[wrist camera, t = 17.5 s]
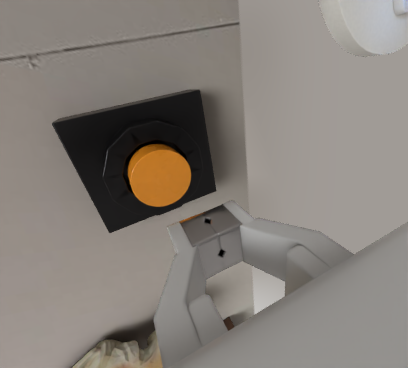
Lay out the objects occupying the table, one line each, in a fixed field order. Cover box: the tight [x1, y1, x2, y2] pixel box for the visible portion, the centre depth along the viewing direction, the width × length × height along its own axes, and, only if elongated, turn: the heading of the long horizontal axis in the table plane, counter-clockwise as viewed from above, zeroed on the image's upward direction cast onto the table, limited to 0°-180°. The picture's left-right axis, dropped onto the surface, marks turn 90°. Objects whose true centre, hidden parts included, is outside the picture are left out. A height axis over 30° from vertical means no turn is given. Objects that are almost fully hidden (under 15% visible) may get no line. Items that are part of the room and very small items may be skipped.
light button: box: [128, 144, 191, 207], centre depth 14 cm, size 4×4×2 cm
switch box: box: [52, 90, 216, 233], centre depth 16 cm, size 10×9×4 cm
